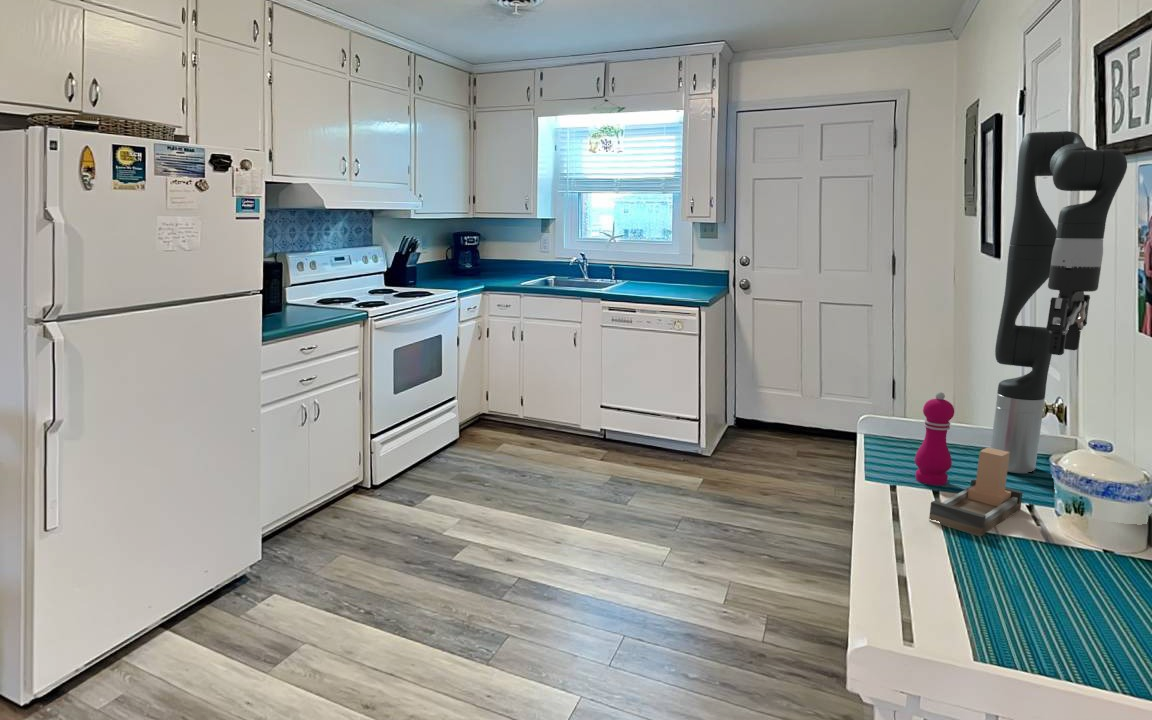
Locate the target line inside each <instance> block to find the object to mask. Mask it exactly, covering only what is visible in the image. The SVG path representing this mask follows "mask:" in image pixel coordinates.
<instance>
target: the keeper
mask: <svg viewBox="0 0 1152 720" xmlns="http://www.w3.org/2000/svg"><path fill="white" fill-rule="evenodd" d="M978 454H979V455H978V462H977V468H976V469H977V470H976V479H975V480H976V485H975V486H973V487H971V488H969V487H968V488H969V490H968V499H971V500H975V501H979V502H982V503H986V504H989V505H993V506H997V507H998V506H999V505H1001V504H1003V503H1004V502H1006V501H1007V500H1009V499H1010V498H1011V492H1010V491H1006V490H1005V487H1006V485H1007V475H1008V472H1007V470H1008V463H1009V455H1010V452H1007V451H1002V450H998V449H993V448H991V447H990V446H989V447H988V446H987V447H985V448H983V449H981V450H979V453H978Z"/></svg>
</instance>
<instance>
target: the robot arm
mask: <svg viewBox="0 0 1152 720" xmlns="http://www.w3.org/2000/svg"><path fill="white" fill-rule="evenodd" d="M1017 159H1018V161H1017V174H1016V176H1017V177H1016V193H1015V206H1014V214H1013V222H1012V227H1011V233H1010V238H1009V246H1008V255H1007V262H1006V263H1007V264H1006V265H1007V266H1006V279H1005V286H1004V287H1005V289H1004V296H1003V297H1004V298H1003V303H1002V309H1001V314H1000V318H999V320H1000V321H999V325H998V330H997V335H996V343H995V349H994V350H995V351H994V352H995V353H994V355H995V359H996V362H997V363H999V364H1000V365H1005V366H1016V367H1025V368H1031V371H1029V372H1028V373H1026V374H1024V375H1022V376H1018V377H1013V378H1012V377H1011V378H1008V379H1003V380H1001V381H1000V382H999V383H998V387H997V393H996V394H997V395H996V402H995V403H996V404H995V410H994V411H995V413H994V420H993V427H992V435H991V444H990V448H993V449H998V450H1002V451H1007V452H1010V455H1009V463H1008V470H1007V473H1015V474H1029V473H1028V472H1032V471H1034V470H1035V471H1036V466H1037V457H1038V451H1039V443H1040V437H1041V436H1040V435H1041V428H1042V423H1043V422H1042V420H1043V416H1044V405H1045V398H1046V391H1047V390H1046V388H1047V380H1048V374H1049V369H1050V364H1051V361H1052V360H1051V359H1052V355H1054V356H1055V355H1056V356H1062V355H1063V354H1065V350H1068V351H1077V350H1078V349H1079V346H1080V339H1081V333H1082V331H1083V330H1084V327H1086V325H1087V323H1088V322H1087V321H1088V314H1089V306H1090V299H1091V295H1090V294H1085V293H1087V292H1096V291H1097V290H1098V289H1099V284H1100V278H1101V277H1100V276H1101V269H1102V265H1103V256H1104V237H1105V231H1106V223H1107V217H1108V213H1109V210H1110V207H1111V205H1112V202H1113V200H1114V197H1115V195H1116V193H1117V191H1118V189H1119V187H1120V185H1121V183H1122V181H1123V179H1124V177H1125V175H1126V173H1127V169H1128V160H1127V157H1126V156H1125V154H1124V153H1123V152H1122V151H1121V150H1119V149H1110V148H1109V149H1093V148H1092V147H1089V146H1087V144H1086V142H1085V141H1084V138H1083V137H1082V136H1081V135H1080V134H1079V133H1077V132H1074V131H1069V130H1067V131H1066V130H1064V131H1063V130H1061V131H1037V132H1034V131H1033V132H1028V133H1027V134H1025V135H1024V136H1023V138H1022V140H1021V142H1020V147H1019V151H1018V158H1017ZM1036 177H1052V181H1053V185H1054V186H1055V188H1056V189H1058V190H1060V191H1065V192H1095V194H1094V195H1093V196H1092V198H1091V199H1090V200H1088V201H1086V202H1083V203H1078V204H1077V203H1076V204H1072V205H1067V206H1064V207H1062V208H1061V209H1060V211H1059V214H1058V219H1057V227H1056V225H1055V224H1054V223H1053V220H1052V219H1051V218H1050V216H1049V215H1048V213H1047V211H1046V210H1045V208H1044V206H1043V205H1042V202H1041V200H1040V197H1039V194H1038V191H1037V188H1036ZM1047 280H1048V281H1047ZM1046 282H1048V283H1047V288H1048V289H1049V290H1051V291H1052V290H1053V291H1058V292H1059V293H1058V297H1051V298H1050V300H1049V301H1050V304H1049V311H1048V318H1047V324H1046V327H1044V326H1031V325H1019V324H1018V325H1016V321H1017V318H1018V316H1019V314H1020V313H1021V311H1022V309H1023V308H1024V307H1025V305H1026V304H1027V303H1028V301H1029V300H1030V299H1031V298H1032V296H1033V295H1034V294H1035V293H1036V292H1037V291H1038V290H1039V289H1040V288H1041V287H1042V286H1043V285H1044V284H1045V283H1046ZM1035 471H1034V472H1035Z"/></svg>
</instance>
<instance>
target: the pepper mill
mask: <svg viewBox="0 0 1152 720" xmlns="http://www.w3.org/2000/svg"><path fill="white" fill-rule="evenodd" d="M945 397H946V396H945V393H943V392H942V391H939V392H936V393H935V398H931V399H929V400H927V401H926V402H925V403H924V405H923V409H922V412H923V413H922V414H923V416H924V417H925V419H924V424H923V425H924V428H925V436H924V438H923V441H922V443H921V445H920V446H919V448H918V449H917V451H916V453H915V457H914V463H915V465H916V466H917V469H916V470H915V480H916V481H917V482H920V483H922V484H926V485H930V486H945V485H946V484H947V483H948V474H947V473H946V472H948V471H949V470H951V468H952V462H953V461H952V456H951V453H950V450H949V447H948V444H947V434H948V431H949V430H950V428H951V426H950V425H951V422H950V421H951V420H952V419H953V417H954V416H955V407H954V405H953V404H952V403H951V402H950V401H948V400H946V399H945Z"/></svg>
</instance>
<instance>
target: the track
mask: <svg viewBox="0 0 1152 720" xmlns="http://www.w3.org/2000/svg"><path fill="white" fill-rule="evenodd" d="M975 485H976V479H971V481H970V486H969V487H968V488H966V489H963V490H962V491H960V492H958V493H956V494H954V495H953V496H951V497H949V498H947V499H946V500H944V501H942V502H939V501H936V500H933V501H931V502H930V507H929V508H930V509H929V517H928V520H929V519H931V520H936V521H939V522H940V524H939V525H942V526H944V527H948V528H951V529H954V530H957V531H960V532H964V533H967V534H970V535H972V536H973V535H974V536H977V537H980V538H981V537H982V536H984V535H985V534H987V533H988V532H990V531H991V530H993V529H994V528H995V527H997V526H999V524H1002V523H1003V522H1005V521H1006V520H1007V519H1009V518H1010V517H1011V516H1013V515H1014V514H1017V513H1018V512H1019V511H1021V508H1022V500H1023V493H1024V492H1023V491H1022V490H1021V491H1020V490H1017V489H1014V488H1009V487H1006V486H1005V490H1006V491H1010V492H1011V498H1010V499H1009V500H1007V501H1006V502H1004V503H1003V504H1001V505H999V506H998V507H997V506H993V505H989V504H986V503H982V502H979V501H975V500H971V499H968V490H969V488H971V487H973V486H975Z"/></svg>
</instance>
